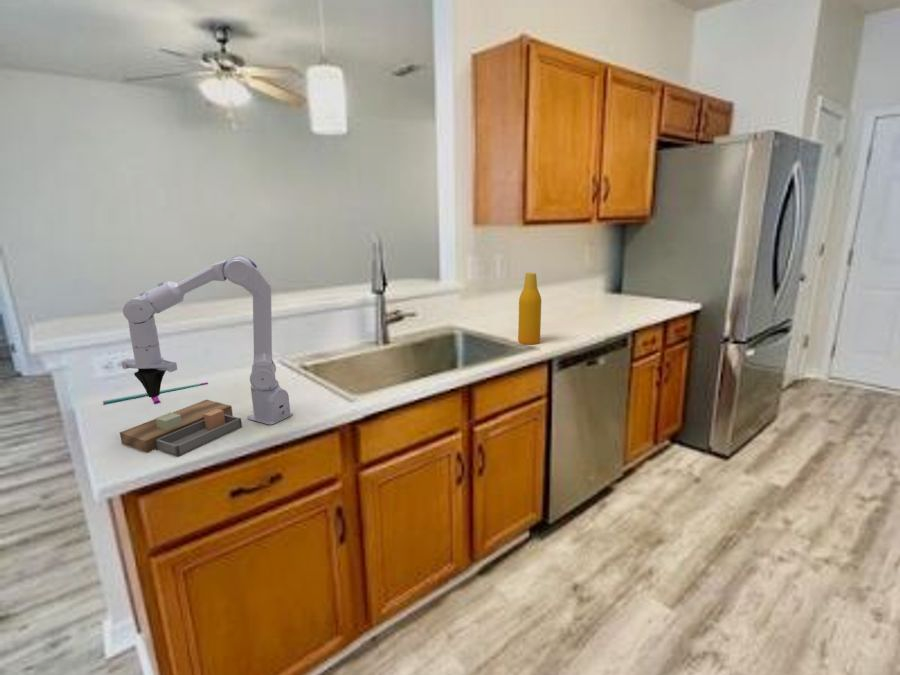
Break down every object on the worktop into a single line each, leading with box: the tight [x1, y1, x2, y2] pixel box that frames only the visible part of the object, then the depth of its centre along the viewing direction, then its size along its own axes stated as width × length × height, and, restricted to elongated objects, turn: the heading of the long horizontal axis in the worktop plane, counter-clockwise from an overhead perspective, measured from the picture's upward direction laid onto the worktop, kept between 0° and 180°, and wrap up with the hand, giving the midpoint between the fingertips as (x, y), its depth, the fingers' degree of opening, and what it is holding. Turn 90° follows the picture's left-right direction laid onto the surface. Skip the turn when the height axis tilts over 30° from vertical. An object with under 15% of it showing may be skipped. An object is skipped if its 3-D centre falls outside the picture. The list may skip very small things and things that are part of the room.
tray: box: [155, 414, 243, 458], centre depth 124 cm, size 8×18×2 cm, turn 152°
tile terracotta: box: [204, 409, 225, 430], centre depth 130 cm, size 4×4×2 cm
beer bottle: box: [517, 272, 542, 346], centre depth 205 cm, size 9×9×29 cm
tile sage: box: [155, 411, 182, 430], centre depth 124 cm, size 4×4×2 cm
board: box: [119, 399, 234, 454], centre depth 130 cm, size 10×24×3 cm, turn 152°
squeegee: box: [102, 382, 209, 406], centre depth 152 cm, size 29×2×10 cm
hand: (154, 396), depth 127 cm, fingers closed
